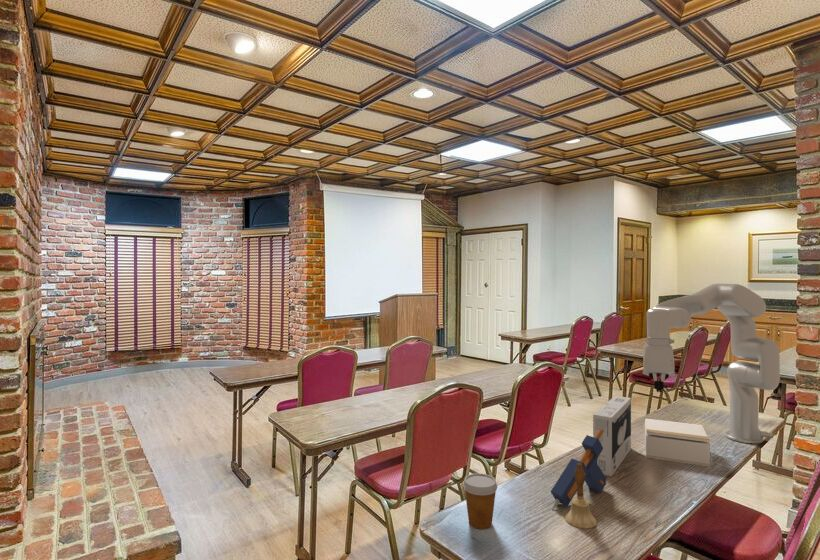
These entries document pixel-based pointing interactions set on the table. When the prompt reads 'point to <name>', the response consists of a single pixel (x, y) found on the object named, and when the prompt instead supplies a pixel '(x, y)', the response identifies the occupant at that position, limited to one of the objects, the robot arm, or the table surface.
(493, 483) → the disposable coffee cup
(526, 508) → the table surface
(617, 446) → the packaging
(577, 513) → the hand bell
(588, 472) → the glue gun
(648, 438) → the box
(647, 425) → the lid
